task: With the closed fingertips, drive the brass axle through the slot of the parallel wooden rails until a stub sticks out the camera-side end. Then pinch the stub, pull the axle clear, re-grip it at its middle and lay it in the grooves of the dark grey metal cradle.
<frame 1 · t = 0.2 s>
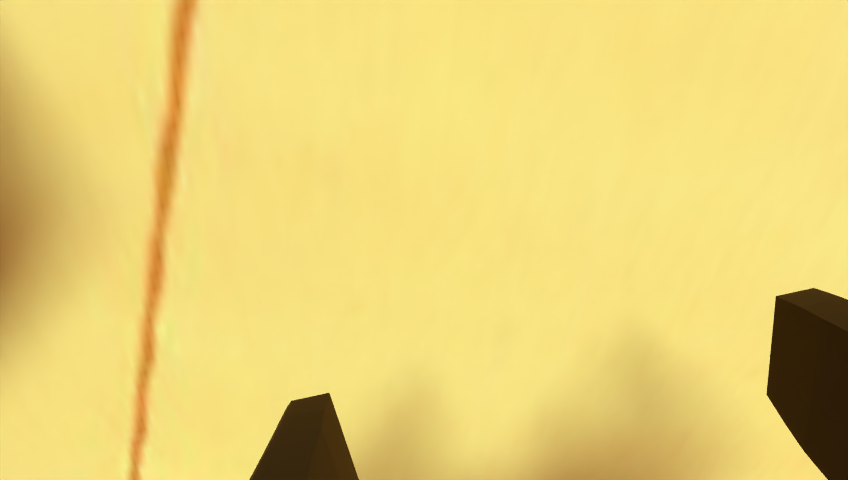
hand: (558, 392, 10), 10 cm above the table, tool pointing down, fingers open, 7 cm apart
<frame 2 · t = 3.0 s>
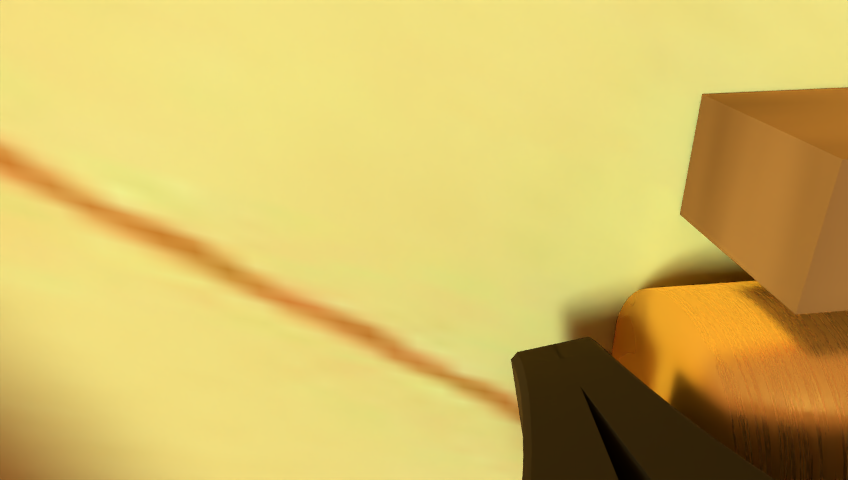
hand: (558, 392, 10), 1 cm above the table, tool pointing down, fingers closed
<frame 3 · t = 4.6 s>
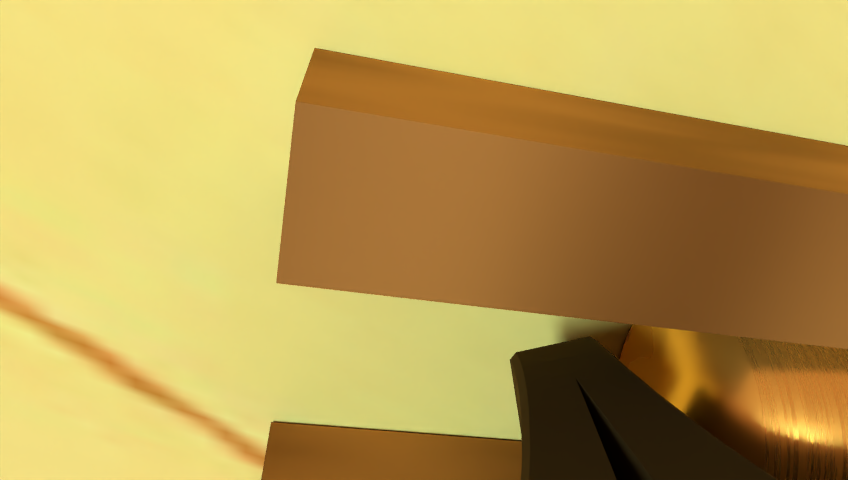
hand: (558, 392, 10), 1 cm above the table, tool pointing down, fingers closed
parallel wooden rails: (561, 343, 11), on the table
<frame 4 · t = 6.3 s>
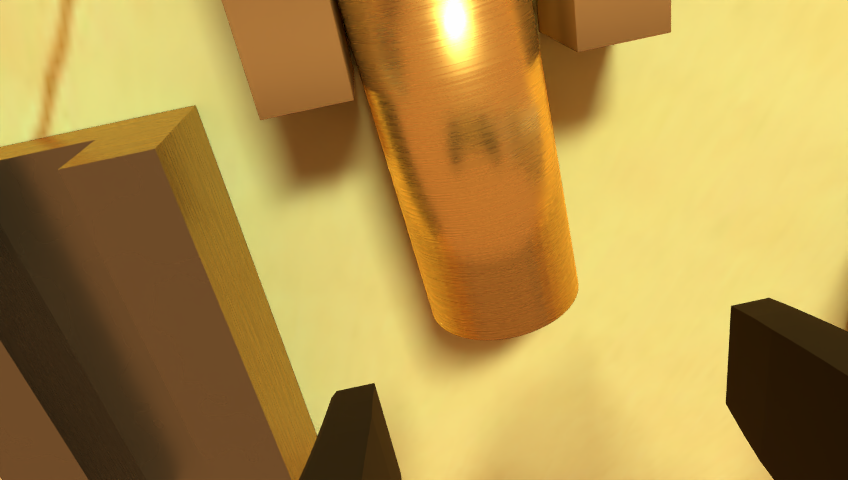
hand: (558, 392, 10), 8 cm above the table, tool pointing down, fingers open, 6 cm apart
v block: (152, 325, 18), on the table
axle: (462, 118, 14), point 2 cm above the table, tilted 24°, touching parallel wooden rails
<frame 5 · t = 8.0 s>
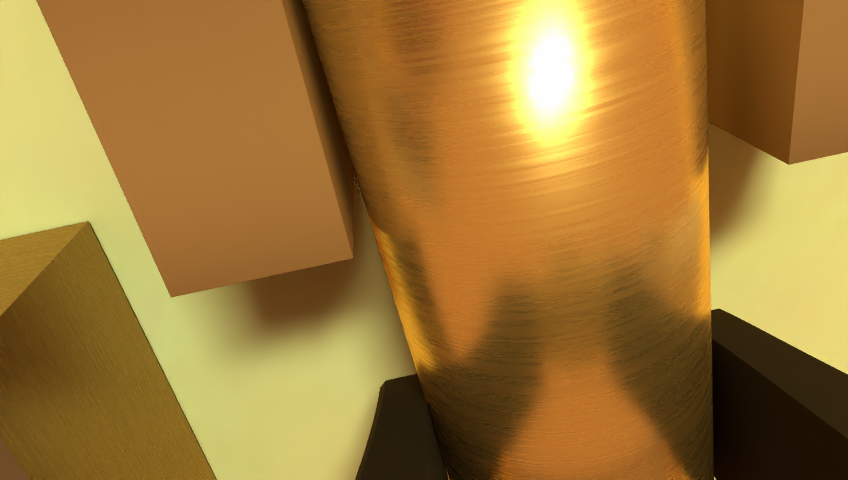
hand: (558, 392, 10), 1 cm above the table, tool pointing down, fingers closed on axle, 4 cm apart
axle: (542, 262, 8), point 2 cm above the table, tilted 25°, touching gripper
when the fingers open (1 cm above the table, at t = 9.7 s): axle stays where it is, point 2 cm above the table.
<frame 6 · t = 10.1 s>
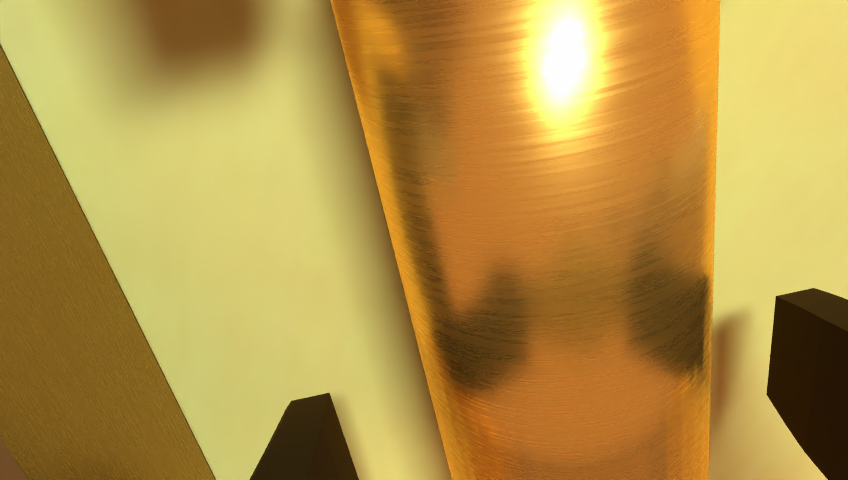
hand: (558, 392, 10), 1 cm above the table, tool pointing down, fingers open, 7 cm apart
axle: (548, 248, 8), point 2 cm above the table, tilted 24°
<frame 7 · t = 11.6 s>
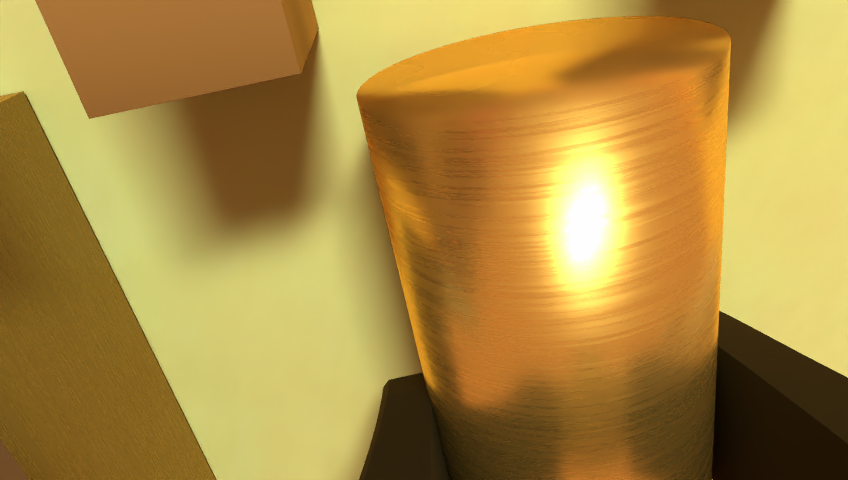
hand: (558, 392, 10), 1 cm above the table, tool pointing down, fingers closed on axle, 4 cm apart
axle: (566, 395, 9), point 2 cm above the table, tilted 24°, touching gripper
when the fingers open (4 cm above the table, at t = 15.1 s): axle stays where it is, resting on v block.
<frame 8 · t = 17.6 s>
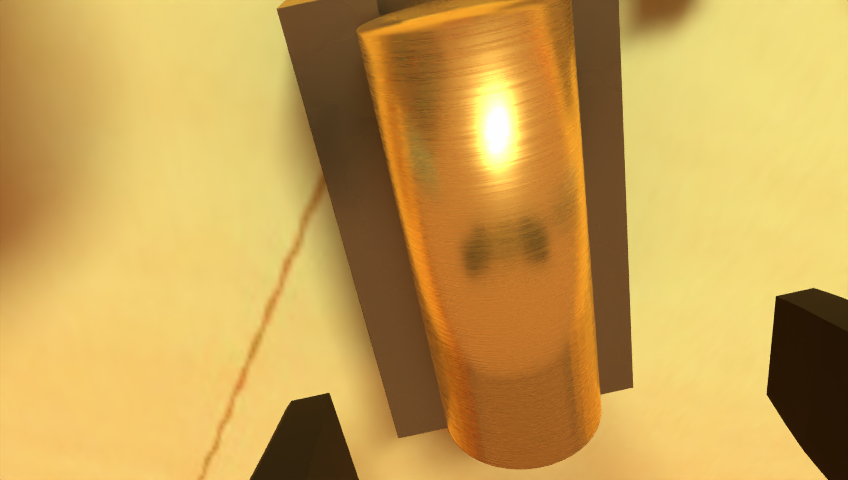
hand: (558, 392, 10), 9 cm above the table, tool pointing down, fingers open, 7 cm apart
v block: (464, 181, 18), on the table
axle: (496, 241, 14), point 5 cm above the table, tilted 23°, touching v block
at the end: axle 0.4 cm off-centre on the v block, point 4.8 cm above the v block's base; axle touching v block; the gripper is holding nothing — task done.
